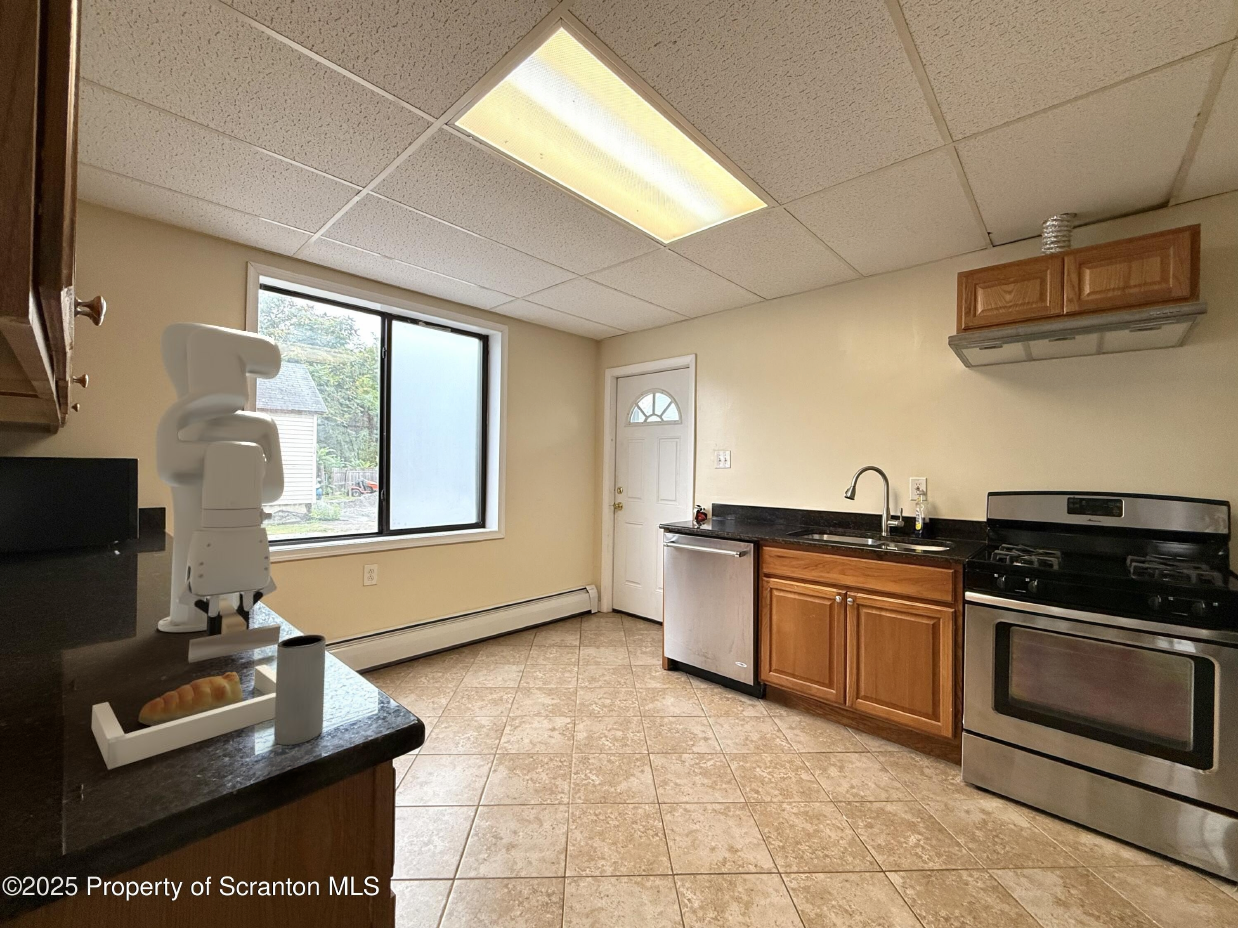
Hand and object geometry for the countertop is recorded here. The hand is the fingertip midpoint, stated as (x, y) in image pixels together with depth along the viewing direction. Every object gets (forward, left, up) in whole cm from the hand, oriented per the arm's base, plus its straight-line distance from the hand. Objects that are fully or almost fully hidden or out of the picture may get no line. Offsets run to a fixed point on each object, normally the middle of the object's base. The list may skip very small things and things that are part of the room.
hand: (227, 637), depth 79 cm
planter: (+22, +27, -3) cm, 35 cm away
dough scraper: (-1, -1, 0) cm, 2 cm away
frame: (+19, +13, -3) cm, 23 cm away
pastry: (+18, +11, -3) cm, 21 cm away
